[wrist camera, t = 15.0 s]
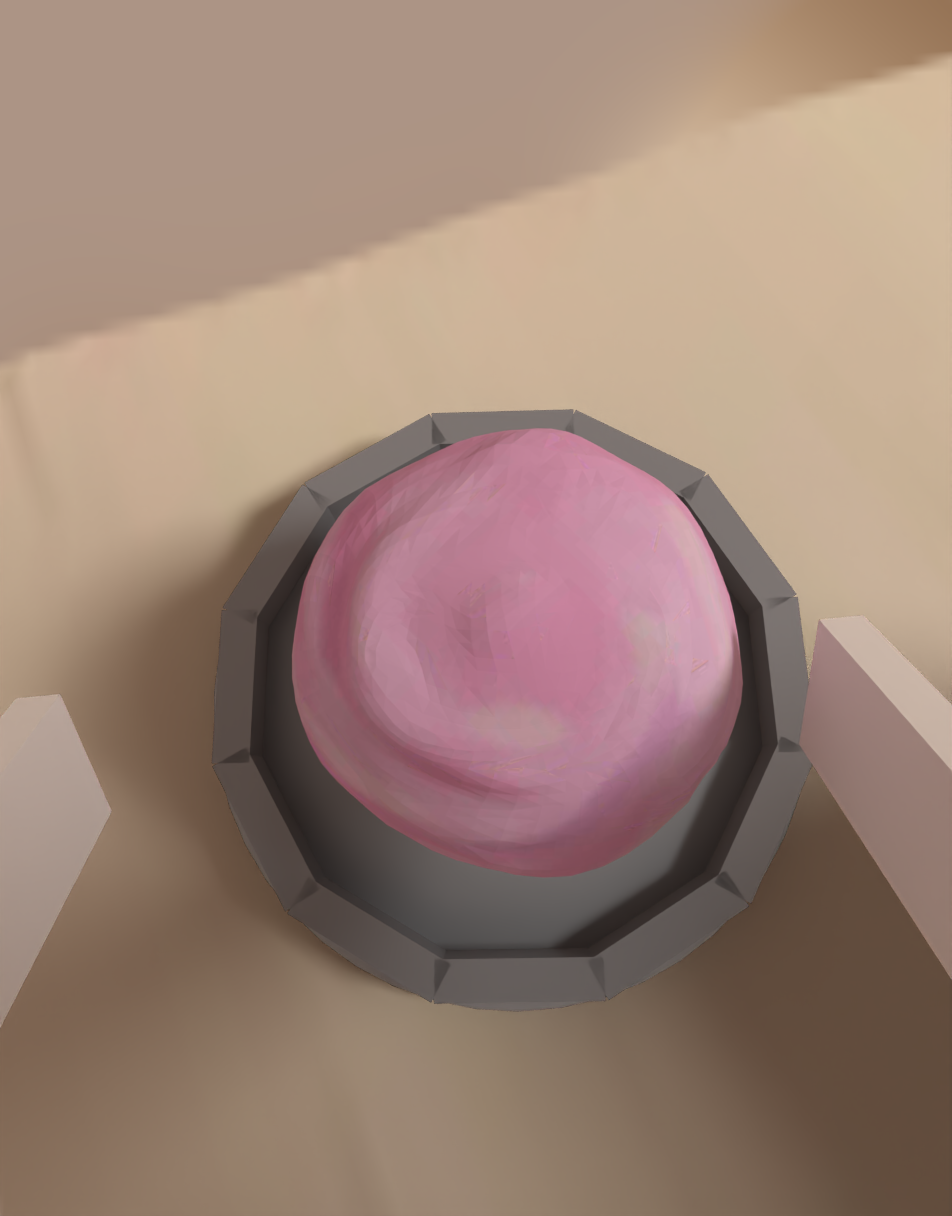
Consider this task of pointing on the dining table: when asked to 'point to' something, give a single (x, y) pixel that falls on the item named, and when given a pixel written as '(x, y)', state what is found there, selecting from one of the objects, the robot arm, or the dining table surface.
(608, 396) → the dining table surface
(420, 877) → the slate plate
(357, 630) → the cupcake
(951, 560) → the dining table surface
